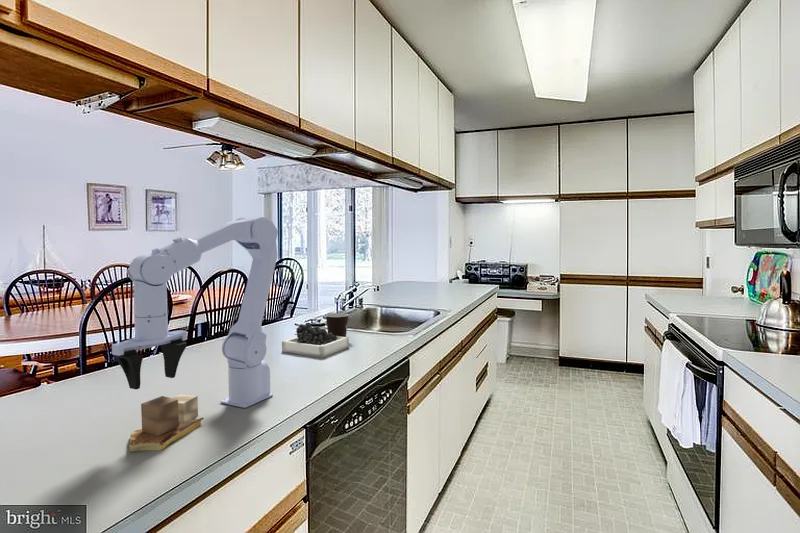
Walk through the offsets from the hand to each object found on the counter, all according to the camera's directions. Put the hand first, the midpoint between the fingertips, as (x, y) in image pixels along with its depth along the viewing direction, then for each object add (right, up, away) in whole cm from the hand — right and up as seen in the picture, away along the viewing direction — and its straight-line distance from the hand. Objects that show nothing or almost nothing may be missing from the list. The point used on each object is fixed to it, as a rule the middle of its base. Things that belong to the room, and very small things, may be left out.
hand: (153, 382), depth 87 cm
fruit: (+20, -6, +67) cm, 70 cm away
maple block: (+3, -10, +7) cm, 12 cm away
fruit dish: (+20, -6, +67) cm, 70 cm away
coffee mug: (+26, -6, +82) cm, 86 cm away
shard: (+2, -11, -2) cm, 11 cm away
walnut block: (+3, -9, -2) cm, 9 cm away
